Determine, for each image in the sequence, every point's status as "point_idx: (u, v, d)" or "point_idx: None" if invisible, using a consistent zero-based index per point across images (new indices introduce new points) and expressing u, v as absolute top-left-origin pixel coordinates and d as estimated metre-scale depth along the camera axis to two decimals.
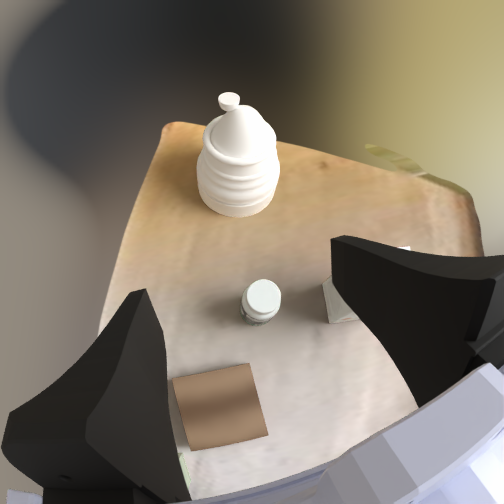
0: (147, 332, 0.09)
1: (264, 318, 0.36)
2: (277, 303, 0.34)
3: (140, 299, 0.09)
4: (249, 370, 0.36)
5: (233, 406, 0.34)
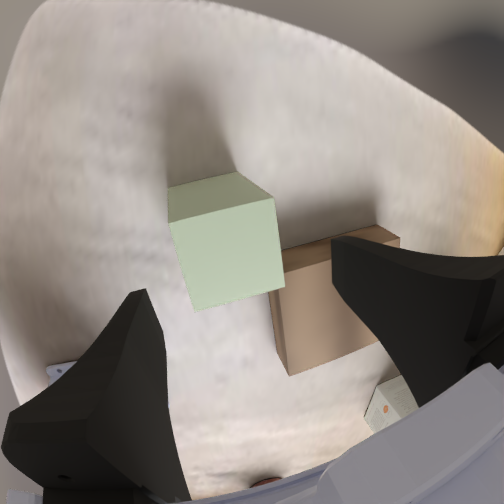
0: (147, 332, 0.09)
1: None
2: None
3: (140, 299, 0.09)
4: None
5: (344, 328, 0.23)
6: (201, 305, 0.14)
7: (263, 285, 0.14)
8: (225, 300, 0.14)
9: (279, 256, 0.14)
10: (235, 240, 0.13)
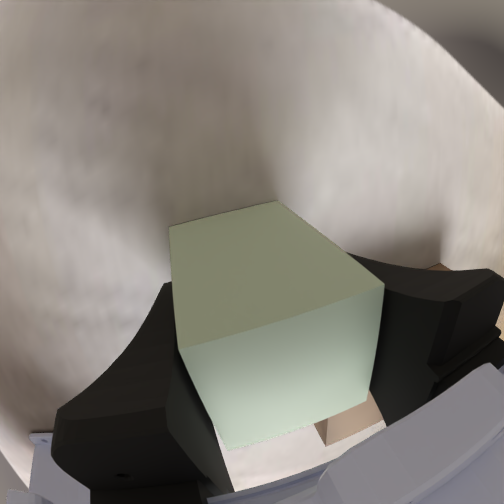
0: None
1: None
2: None
3: None
4: None
5: None
6: (239, 443, 0.07)
7: (337, 407, 0.08)
8: (277, 434, 0.08)
9: (370, 368, 0.07)
10: (308, 361, 0.07)
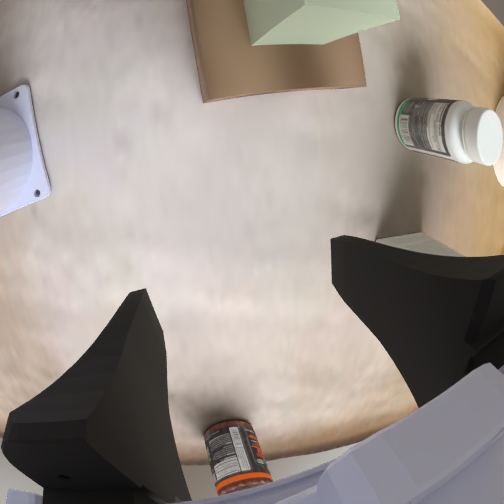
0: (147, 332, 0.09)
1: (450, 129, 0.16)
2: (482, 156, 0.14)
3: (140, 299, 0.09)
4: (354, 83, 0.16)
5: None
6: None
7: (380, 6, 0.08)
8: (341, 5, 0.08)
9: None
10: None
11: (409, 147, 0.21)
